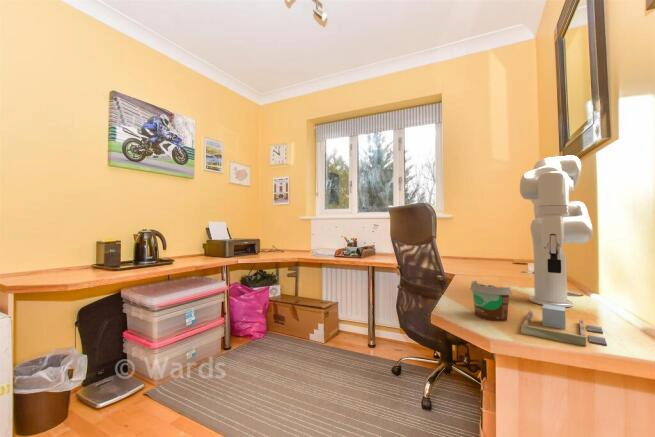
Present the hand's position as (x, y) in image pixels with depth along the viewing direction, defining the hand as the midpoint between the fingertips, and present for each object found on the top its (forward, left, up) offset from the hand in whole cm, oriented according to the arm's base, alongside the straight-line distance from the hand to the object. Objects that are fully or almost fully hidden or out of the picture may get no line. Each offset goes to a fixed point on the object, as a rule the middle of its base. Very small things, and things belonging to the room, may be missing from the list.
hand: (554, 272), depth 88 cm
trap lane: (+11, +2, -14) cm, 18 cm away
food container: (+12, -16, -14) cm, 25 cm away
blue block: (+7, 0, -14) cm, 16 cm away
